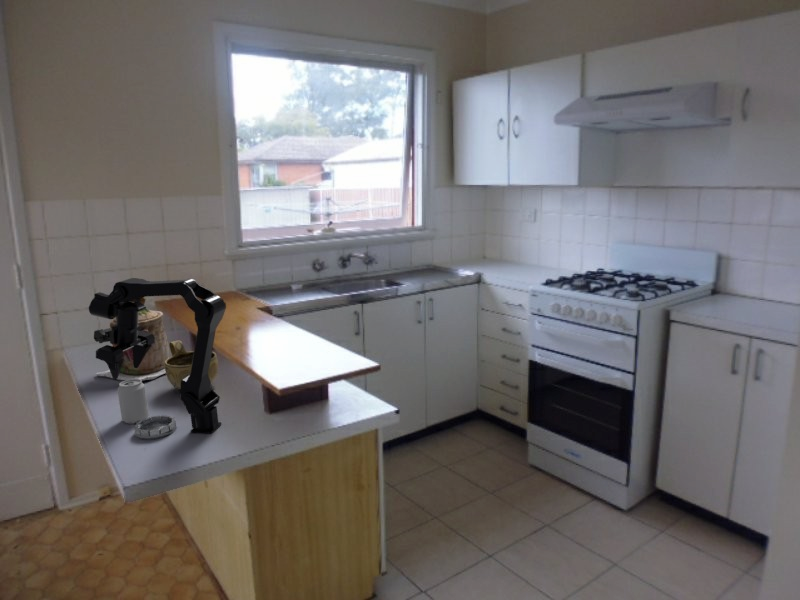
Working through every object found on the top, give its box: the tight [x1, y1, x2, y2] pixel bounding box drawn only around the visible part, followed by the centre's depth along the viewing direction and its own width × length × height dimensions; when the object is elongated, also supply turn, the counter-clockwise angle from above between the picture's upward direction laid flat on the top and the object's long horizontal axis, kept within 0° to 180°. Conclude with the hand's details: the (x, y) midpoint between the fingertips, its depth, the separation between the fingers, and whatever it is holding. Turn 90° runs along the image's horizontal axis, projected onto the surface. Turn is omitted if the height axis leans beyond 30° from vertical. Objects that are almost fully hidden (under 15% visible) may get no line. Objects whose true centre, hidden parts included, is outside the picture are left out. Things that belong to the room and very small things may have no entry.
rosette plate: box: [134, 414, 177, 441], centre depth 172 cm, size 11×11×2 cm
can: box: [117, 379, 150, 425], centre depth 179 cm, size 8×8×12 cm
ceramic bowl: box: [165, 340, 219, 391], centre depth 203 cm, size 22×17×15 cm
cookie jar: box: [95, 297, 170, 382], centre depth 221 cm, size 25×25×32 cm
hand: (125, 373), depth 174 cm, fingers open, 9 cm apart
